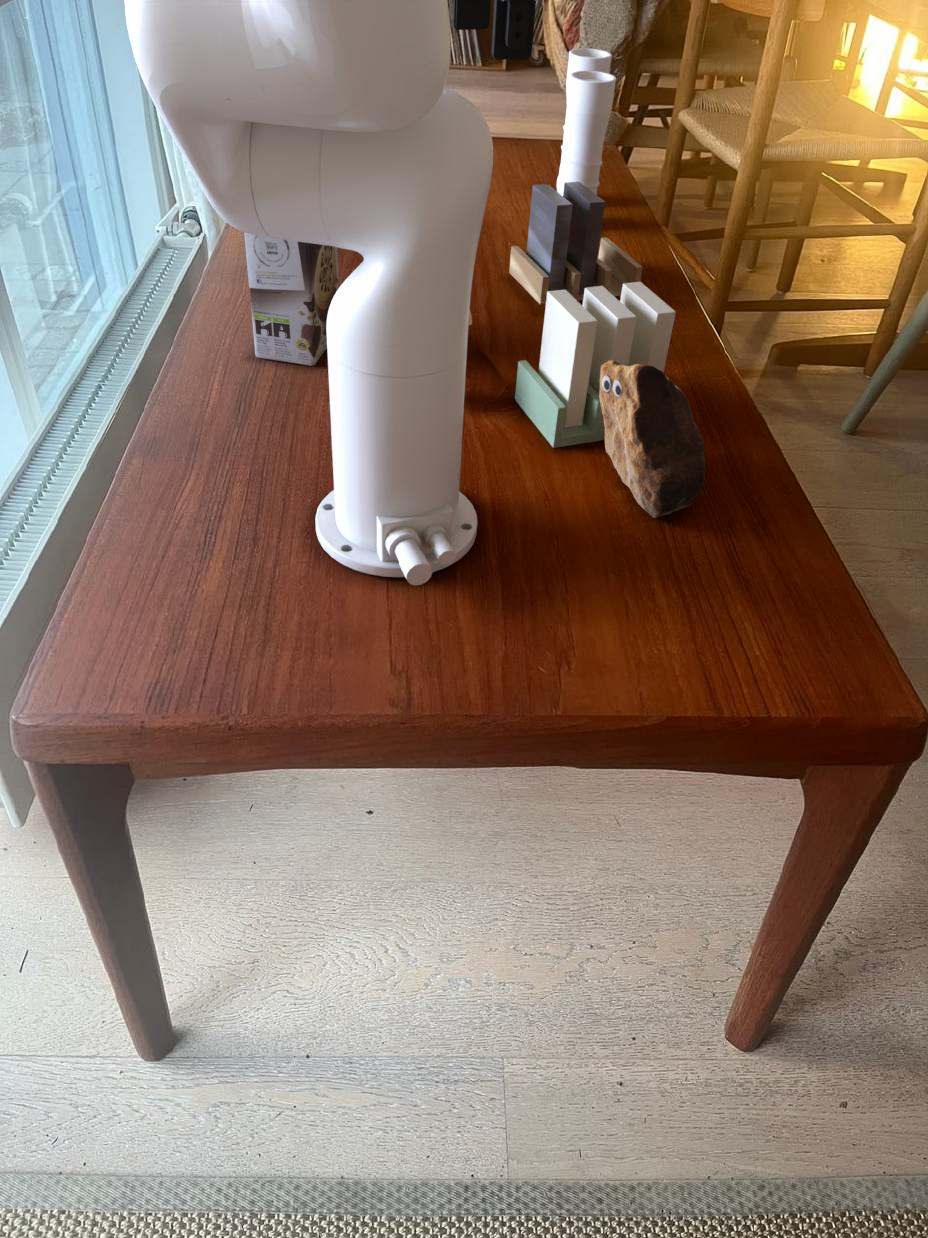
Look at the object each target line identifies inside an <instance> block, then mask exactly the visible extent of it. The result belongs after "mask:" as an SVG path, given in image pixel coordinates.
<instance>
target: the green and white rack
mask: <svg viewBox="0 0 928 1238" xmlns="http://www.w3.org/2000/svg"><path fill="white" fill-rule="evenodd" d="M581 305H582V306H583V307H584V308H585V309H586V310H587V311H588V312H589V313H590V314H591V315H592V316H593V317H594V318H595V319H596V320H597V321H598V322H597V328H596V335H595V342H594V349H593V355H592V362H591V369H590V376H589V382H588V389H587V396H586V403H585V409H584V416H583V423H582V425H580V426H574V427H567V428H564V421H565V414H566V406H565V405H564V404H563V403H562V402H561V400H560V399H559V398H558V397H557V396H556V395H555V393H554V392H553V391H552V390H551V389H550V388H549V386H548V385H547V384H546V383H545V382H544V381H543V379H542V378H541V377H540V376H539V375H538V372H537V371H536V370H535V369H534V368H533V366H532V365H531V364H530V363H529V361H528V360H526V359H523V360H519V361H518V362H517V370H516V371H517V372H516V382H515V393H514V400H515V402H516V403H517V404H518V405H519V407H520V408H521V409H522V411H523V412H524V413H525V415H526V416H527V417H528V418H529V420H531V422H532V423H533V425H534V426H535V427H536V428H537V430H538V431H539V433H541V435H542V436H543V437H544V438H545V440H546V441H547V442H548V443H549V445H550V446H551V448H553V449H557V448H562V447H570V446H575V445H581V444H586V443H593V442H600V441H605V426H604V416H603V414H602V409H601V404H600V398H599V394H600V373H601V366H602V365H603V364H604V363H606V362H608V361H609V360H614V361H616V362H617V363H620V364H623V365H624V364H625V365H627V366H632V365H635V364H643V365H648V366H654V367H655V368H657V369H658V370H660V371H662V372H663V373H664V372H665V368H666V362H667V357H668V351H669V347H670V342H671V337H672V333H673V327H674V323H675V318H676V314H677V311H676V310H674V308H672V307H671V306H670V305H669V304H668V303H666V302H665V301H664V300H663V299H661V298H660V297H659V296H658V295H657V294H656V293H654V292H653V291H652V290H651V289H650V288H648V286H647V285H645V284H644V283H643V282H642V281H640V282H632V283H623V286H622V292H621V295H620V300H619V299H618V298H616V296H613V295H612V294H611V293H610V292H609V291H608V290H607V289H605V288H604V287H603V286H596V287H587V288H585V290H584V298H583V300H582V304H581ZM665 376H666V378H667V379H670V378H669V377H668V376H667V375H666V374H665ZM675 387H676V388H678V389H680V388H679V386H678V385H676V384H675Z"/></svg>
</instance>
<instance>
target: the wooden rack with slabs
mask: <svg viewBox="0 0 928 1238" xmlns="http://www.w3.org/2000/svg"><path fill="white" fill-rule="evenodd" d="M531 189H532V190H531V200H530V201H531V202H530V210H529V211H530V212H529V221H528V232H527V243H526V253H525V251H524V250H523V249H522V248H520V246H518V245H511V247H510V259H509V272H508V273H509V274H510V275H511V276H512V277H513V278H514V279H515V280H516V281H517V283H519V284H520V286H522V287H523V289H524V290H525V291H527V293H528V294H529V295H530V296H531V297H532V298H533V299H534V300H535V301H536V302H537V303H538V304H539V305H546V299H547V292H548V291H556V290H566V291H567V292H569V293H570V294H571V295H572V296H573V297H574V298H575V299H576V300H577V301H583V298H584V290H585V288H587V287H596V286H603V287H604V288H605V289H607V290H608V291H609V292H610V293H611V294H612V295H613V296H614V297H617V296H619V297H621V292H622V286H623V283H632V282H641V279H642V273H643V266H642V265H641V264H640V263H639V262H637V261H636V260H635V259H634V258H632V256H630V255H629V253H628V254H627V253H626V252H625V251H624V250H623V249H622V248H620V247H619V246H618V245H617V244H616V243H614V242H613V240H611V239H610V238H608V237H607V236H606V237H605V236H604V237H601V236H602V235H601V234H602V228H603V221H604V214H605V213H604V212H605V207H606V206H605V205H606V201H605V200H604V199H602V198H601V197H600V196H599V195H597V194H594V193H593V192H592V191H591V190H589V189H588V188H587V187H585V186H584V185H583V184H581V183H580V182H567V183H564V192H563V196H562V195H561V194H559V193H558V192H557V189H555V188H554V187H552V186H551V185H549V184H548V183H541V184H532V188H531Z"/></svg>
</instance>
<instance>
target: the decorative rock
mask: <svg viewBox="0 0 928 1238" xmlns="http://www.w3.org/2000/svg"><path fill="white" fill-rule="evenodd" d="M665 375H666V374H665V373H664V372H662V371H660V370H658V369H657V368H655V367H654V366H648V365H643V364H635V365H632V366H627V365H625V364H624V365H623V364H620V363H617V362H616V361H614V360H609V361H608V362H606V363H604V364H603V365H602V366H601V373H600V394H599V398H600V404H601V409H602V414H603V416H604V426H605V440H604V448H605V452H606V454H607V455H608V456H609V458H610V460H611V462H612V465H613V467H614V469H615V470H616V471H617V474H618V476H619V477H620V479H621V482H622V483H623V484H624V485H625V486H627V487H628V488H629V490H630V492H631V493H632V496H633V498H634V499H635V501H636V502H637V504H638V505H639V507H641V508H642V510H644V511H645V512H646V513H647V514H648V515H650V516H651V517H652V518H654V519H657V518H660V517H662V516H668V515H671V514H672V513H674V512H677V511H680V510H683V509H685V508H687V507H691V506H692V505H693V504H694V503H695V502H696V501H697V500H698V497H697V496H698V495H700V494H701V493H702V491H703V484H704V479H705V471H706V460H705V457H704V453H705V449H706V446H705V441H704V439H703V437H702V436H701V433H700V429H699V428H698V426H697V424H696V422H695V421H694V415H693V411H692V410H691V407H690V401H689V399H688V397H687V396H686V394H685V392H684V391H682V389H680V388H679V387H678V388H679V389H678V388H676V387H675V385H676V384H675V382H674V381H673V380H672V379H671V378H669V379H667V378H666V376H667V375H666V376H665Z"/></svg>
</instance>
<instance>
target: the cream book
mask: <svg viewBox="0 0 928 1238" xmlns="http://www.w3.org/2000/svg"><path fill="white" fill-rule="evenodd" d="M582 305H583V304H581V303H580V302H579V300H576V299H575V298H574V297H573V296H572V295H571V294H570V293H569V292H567V291H566V290H556V291H548V292H547V299H546V304H545V309H544V318H543V326H542V327H543V328H542V335H541V344H540V345H541V346H540V352H539V353H540V354H539V363H538V372H537V374H538V375H539V376H540V377H541V378H542V379H543V381H544V382H545V383H546V384H547V385H548V386H549V388H550V389H551V390H552V391H553V392H554V393H555V395H556V396H557V397H558V398H559V399H560V400H561V402H562V403H563V404H564V405H565V406H566V414H565V421H564V428H567V427H574V426H580V425H582V423H583V416H584V409H585V403H586V396H587V389H588V382H589V376H590V369H591V362H592V355H593V349H594V342H595V335H596V328H597V322H598V321H597V320H596V319H595V318H594V317H593V316H592V315H591V314H590V313H589V312H588V311H587V310H586V309H585V308H584V307H583V306H582Z"/></svg>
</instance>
